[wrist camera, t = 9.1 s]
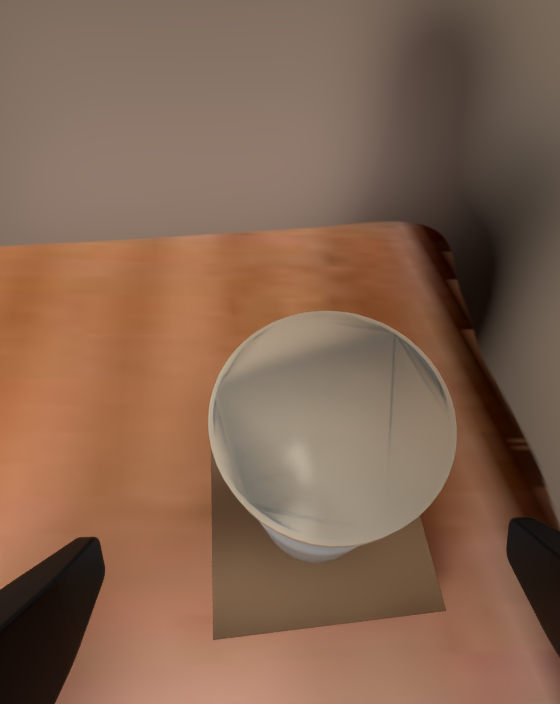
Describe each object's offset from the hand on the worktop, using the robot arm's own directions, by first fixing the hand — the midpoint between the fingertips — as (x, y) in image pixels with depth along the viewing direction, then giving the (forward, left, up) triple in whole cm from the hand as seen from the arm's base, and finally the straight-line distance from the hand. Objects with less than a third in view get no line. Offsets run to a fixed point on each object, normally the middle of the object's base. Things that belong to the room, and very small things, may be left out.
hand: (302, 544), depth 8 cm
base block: (+3, -1, -14) cm, 14 cm away
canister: (+2, -1, -11) cm, 11 cm away
